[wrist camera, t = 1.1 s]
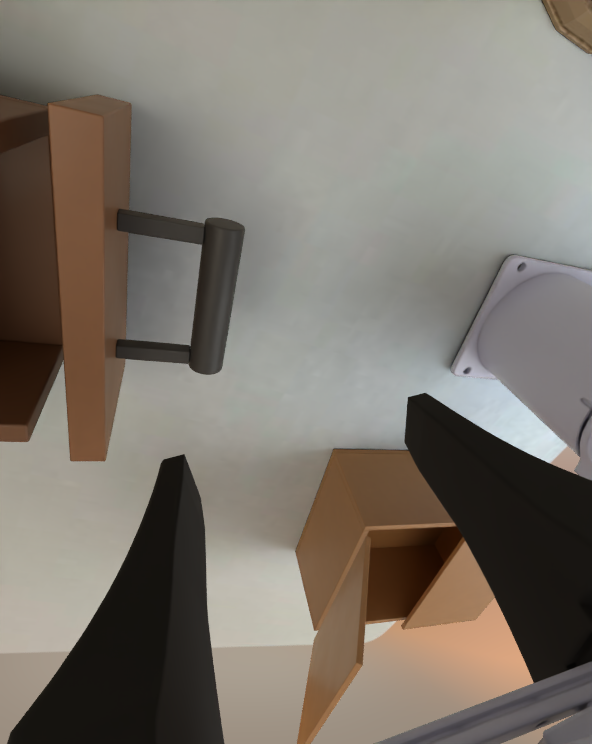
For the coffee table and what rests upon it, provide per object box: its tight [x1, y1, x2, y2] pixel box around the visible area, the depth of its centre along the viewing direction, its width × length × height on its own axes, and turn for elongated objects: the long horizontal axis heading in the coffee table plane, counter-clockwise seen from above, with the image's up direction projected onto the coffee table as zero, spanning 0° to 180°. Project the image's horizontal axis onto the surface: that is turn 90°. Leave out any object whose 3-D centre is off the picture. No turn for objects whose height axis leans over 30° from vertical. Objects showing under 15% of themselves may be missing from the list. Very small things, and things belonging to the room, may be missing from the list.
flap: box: [297, 536, 371, 744], centre depth 24 cm, size 7×12×1 cm
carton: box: [295, 449, 495, 631], centre depth 32 cm, size 14×12×7 cm
